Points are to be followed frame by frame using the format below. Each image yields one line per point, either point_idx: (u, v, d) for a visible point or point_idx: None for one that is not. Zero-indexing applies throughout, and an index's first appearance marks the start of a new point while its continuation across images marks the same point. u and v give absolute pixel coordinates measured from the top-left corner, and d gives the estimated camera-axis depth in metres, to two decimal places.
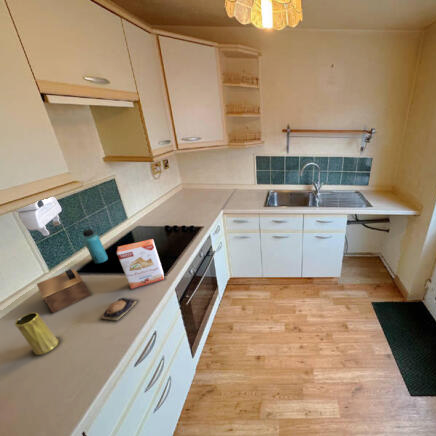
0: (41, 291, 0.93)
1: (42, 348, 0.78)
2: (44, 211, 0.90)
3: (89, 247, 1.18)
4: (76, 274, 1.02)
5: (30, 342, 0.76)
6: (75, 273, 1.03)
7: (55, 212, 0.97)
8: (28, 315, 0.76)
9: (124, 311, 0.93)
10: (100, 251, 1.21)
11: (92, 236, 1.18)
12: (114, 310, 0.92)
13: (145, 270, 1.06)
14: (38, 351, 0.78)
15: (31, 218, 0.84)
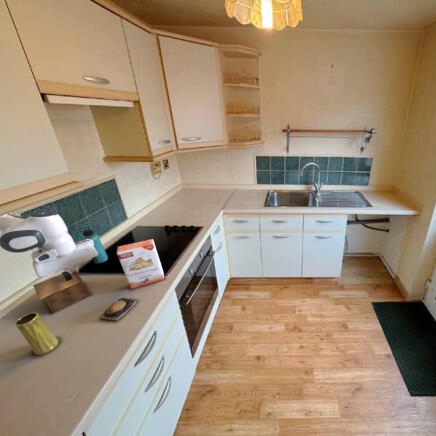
0: (37, 293, 0.92)
1: (42, 348, 0.78)
2: (60, 260, 0.95)
3: None
4: (73, 275, 1.02)
5: (30, 342, 0.76)
6: None
7: (81, 259, 1.01)
8: (28, 315, 0.76)
9: (124, 311, 0.93)
10: (100, 251, 1.21)
11: (92, 236, 1.18)
12: (114, 310, 0.92)
13: (145, 270, 1.06)
14: (38, 351, 0.78)
15: (34, 268, 0.90)
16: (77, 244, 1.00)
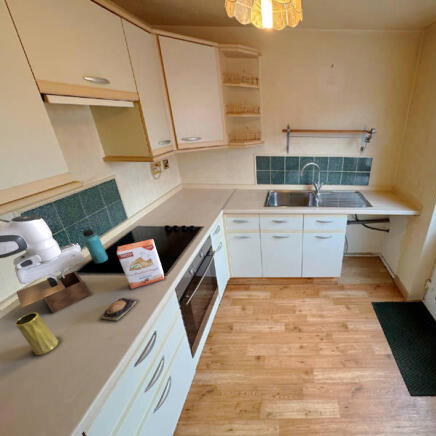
0: (20, 300, 0.89)
1: (42, 348, 0.78)
2: (44, 266, 0.92)
3: (89, 247, 1.18)
4: (59, 281, 0.98)
5: (30, 342, 0.76)
6: None
7: (66, 264, 0.97)
8: (28, 315, 0.76)
9: (124, 311, 0.93)
10: (100, 251, 1.21)
11: (92, 236, 1.18)
12: (114, 310, 0.92)
13: (145, 270, 1.06)
14: (38, 351, 0.78)
15: (16, 274, 0.87)
16: (63, 249, 0.96)
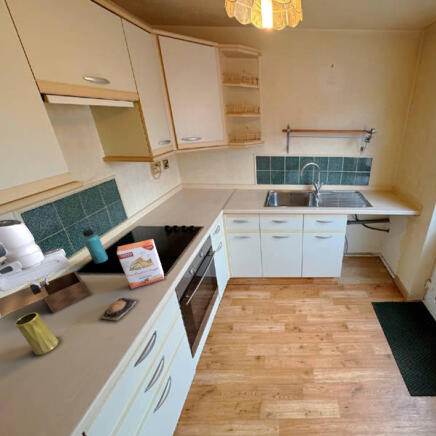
0: (0, 308, 0.85)
1: (42, 348, 0.78)
2: (25, 272, 0.88)
3: (89, 247, 1.18)
4: (42, 288, 0.95)
5: (30, 342, 0.76)
6: (41, 287, 0.95)
7: (50, 270, 0.94)
8: (28, 315, 0.76)
9: (124, 311, 0.93)
10: (100, 251, 1.21)
11: (92, 236, 1.18)
12: (114, 310, 0.92)
13: (145, 270, 1.06)
14: (38, 351, 0.78)
15: None
16: (46, 254, 0.92)
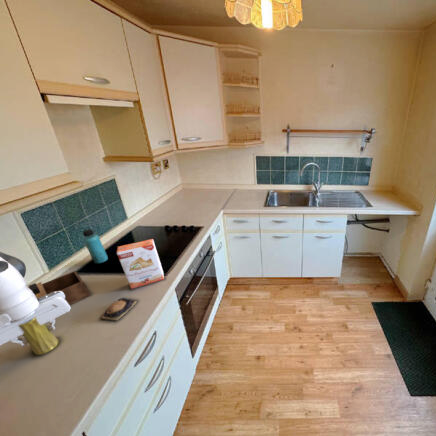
0: None
1: (42, 348, 0.78)
2: (16, 324, 0.72)
3: (89, 247, 1.18)
4: (41, 288, 0.94)
5: (30, 342, 0.76)
6: (40, 287, 0.95)
7: (46, 318, 0.77)
8: None
9: (124, 311, 0.93)
10: (100, 251, 1.21)
11: (92, 236, 1.18)
12: (114, 310, 0.92)
13: (145, 270, 1.06)
14: (38, 351, 0.78)
15: None
16: (41, 300, 0.76)
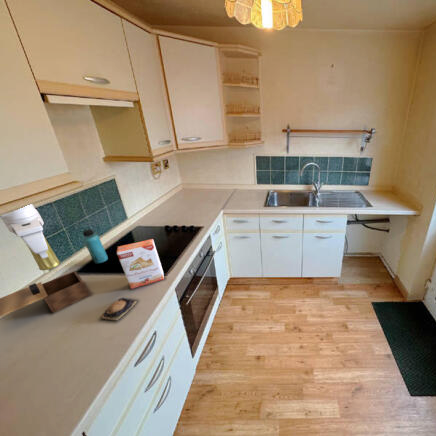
0: None
1: (56, 258, 0.93)
2: None
3: (89, 247, 1.18)
4: (41, 288, 0.94)
5: (49, 253, 0.90)
6: (40, 287, 0.95)
7: None
8: None
9: (124, 311, 0.93)
10: (100, 251, 1.21)
11: (92, 236, 1.18)
12: (114, 310, 0.92)
13: (145, 270, 1.06)
14: (56, 261, 0.92)
15: (38, 240, 0.81)
16: None
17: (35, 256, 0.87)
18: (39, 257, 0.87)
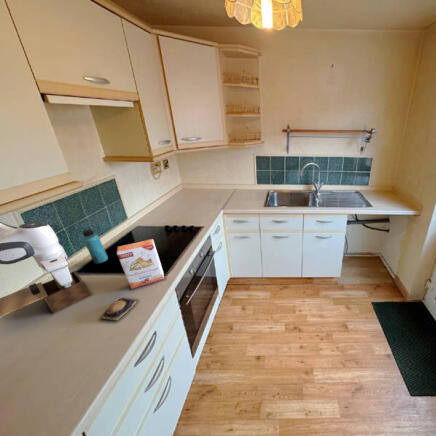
0: None
1: None
2: None
3: (89, 247, 1.18)
4: (41, 288, 0.94)
5: (72, 283, 1.00)
6: (40, 287, 0.95)
7: None
8: None
9: (124, 311, 0.93)
10: (100, 251, 1.21)
11: (92, 236, 1.18)
12: (114, 310, 0.92)
13: (145, 270, 1.06)
14: None
15: (64, 274, 0.92)
16: None
17: (60, 287, 0.98)
18: (63, 288, 0.98)
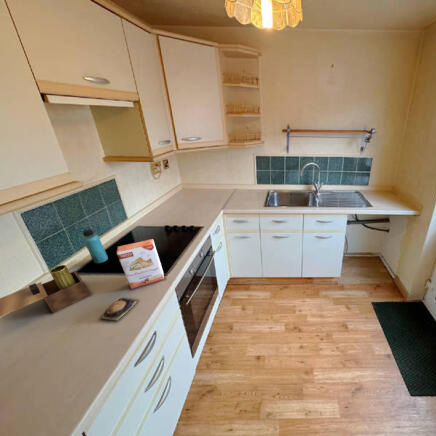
0: None
1: None
2: None
3: (89, 247, 1.18)
4: (41, 288, 0.94)
5: (72, 283, 1.00)
6: (40, 287, 0.95)
7: None
8: (51, 272, 0.96)
9: (124, 311, 0.93)
10: (100, 251, 1.21)
11: (92, 236, 1.18)
12: (114, 310, 0.92)
13: (145, 270, 1.06)
14: None
15: None
16: None
17: (60, 287, 0.98)
18: (63, 288, 0.98)
